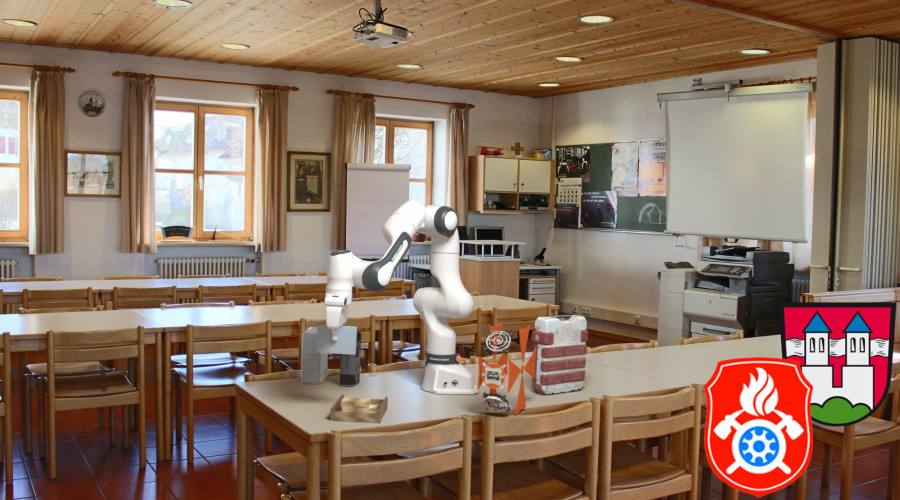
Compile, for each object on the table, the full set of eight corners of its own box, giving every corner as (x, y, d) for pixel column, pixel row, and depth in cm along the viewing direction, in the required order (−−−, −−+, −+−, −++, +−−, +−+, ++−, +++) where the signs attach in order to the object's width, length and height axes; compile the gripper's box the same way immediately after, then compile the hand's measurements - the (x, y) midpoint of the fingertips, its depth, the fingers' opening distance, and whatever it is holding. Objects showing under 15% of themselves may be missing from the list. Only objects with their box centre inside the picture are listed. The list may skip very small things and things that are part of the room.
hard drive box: (308, 375, 321) (310, 326, 320) (327, 376, 320) (329, 327, 319) (300, 383, 305) (301, 332, 304) (319, 384, 305) (321, 333, 304)
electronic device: (353, 387, 302) (354, 335, 301) (338, 386, 303) (340, 334, 302) (360, 382, 311) (362, 332, 310) (346, 381, 312) (348, 331, 311)
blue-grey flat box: (355, 353, 268) (357, 326, 268) (354, 354, 265) (355, 327, 265) (317, 350, 268) (319, 324, 268) (315, 352, 265) (317, 325, 265)
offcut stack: (378, 417, 262) (379, 399, 261) (376, 421, 257) (377, 402, 256) (339, 415, 262) (340, 397, 262) (336, 418, 257) (337, 400, 257)
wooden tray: (387, 408, 273) (387, 396, 272) (379, 423, 253) (380, 410, 253) (341, 405, 273) (341, 394, 273) (330, 420, 254) (330, 408, 254)
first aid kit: (571, 386, 320) (574, 312, 318) (586, 390, 313) (589, 315, 312) (528, 392, 306) (532, 315, 305) (543, 396, 299) (546, 318, 298)
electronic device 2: (475, 417, 265) (479, 328, 263) (506, 399, 293) (509, 319, 291) (506, 422, 261) (510, 332, 259) (534, 403, 288) (537, 321, 287)
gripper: (334, 294, 276) (332, 334, 277) (323, 300, 256) (321, 342, 257) (352, 295, 276) (350, 335, 277) (342, 301, 256) (340, 344, 256)
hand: (336, 339), depth 266 cm, fingers closed on blue-grey flat box, 3 cm apart
